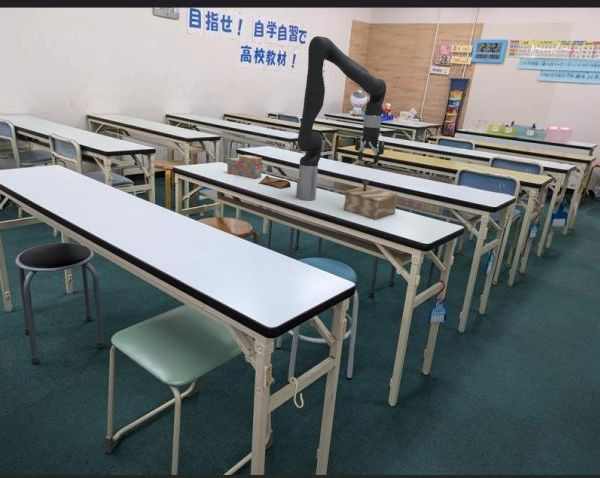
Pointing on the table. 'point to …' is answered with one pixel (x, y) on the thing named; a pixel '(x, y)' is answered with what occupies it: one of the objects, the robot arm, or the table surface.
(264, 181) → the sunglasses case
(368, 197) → the box lid
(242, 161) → the stack of blocks
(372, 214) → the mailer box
